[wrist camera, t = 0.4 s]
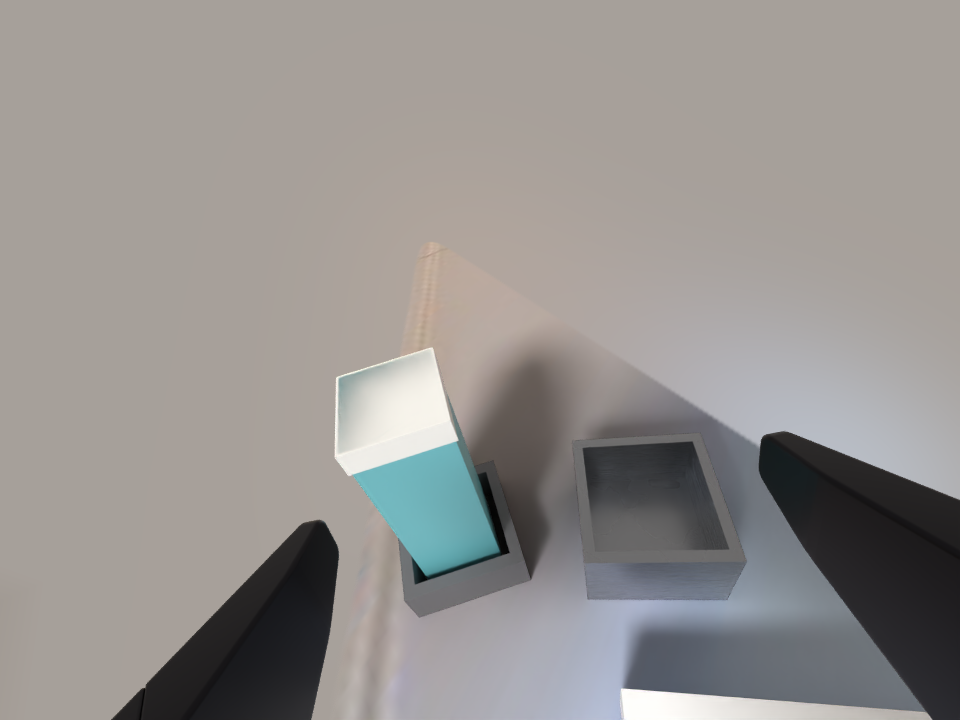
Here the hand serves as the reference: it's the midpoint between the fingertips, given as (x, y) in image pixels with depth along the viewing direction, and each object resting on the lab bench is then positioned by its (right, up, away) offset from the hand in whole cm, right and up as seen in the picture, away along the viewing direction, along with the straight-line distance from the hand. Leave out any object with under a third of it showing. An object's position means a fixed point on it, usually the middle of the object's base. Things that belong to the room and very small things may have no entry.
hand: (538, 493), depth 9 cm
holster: (-2, -8, +17) cm, 19 cm away
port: (+8, -7, +15) cm, 18 cm away
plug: (-2, -8, +17) cm, 19 cm away
